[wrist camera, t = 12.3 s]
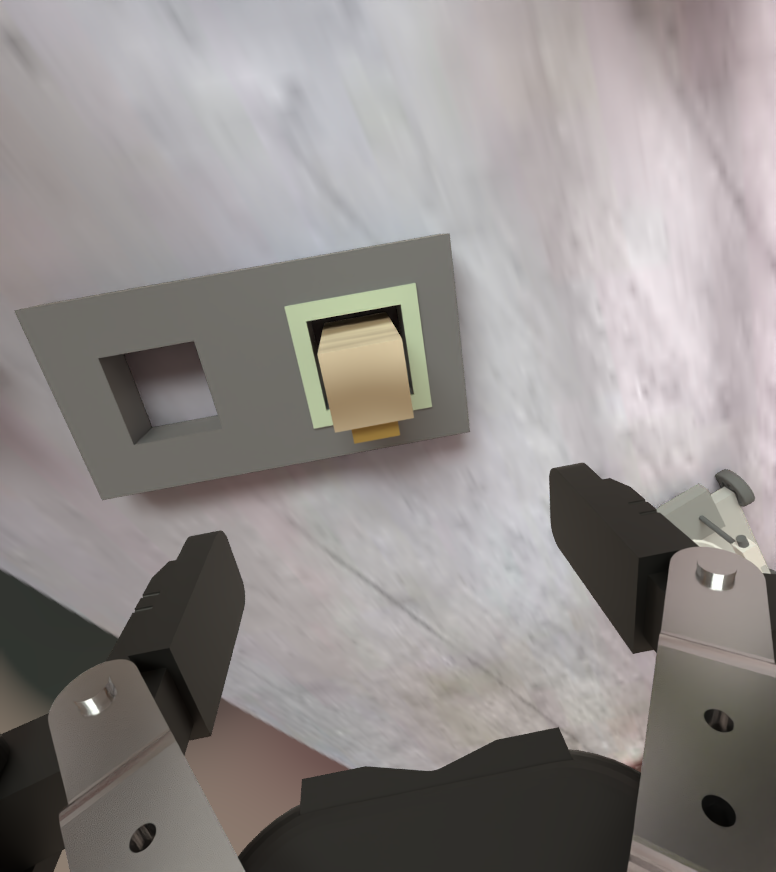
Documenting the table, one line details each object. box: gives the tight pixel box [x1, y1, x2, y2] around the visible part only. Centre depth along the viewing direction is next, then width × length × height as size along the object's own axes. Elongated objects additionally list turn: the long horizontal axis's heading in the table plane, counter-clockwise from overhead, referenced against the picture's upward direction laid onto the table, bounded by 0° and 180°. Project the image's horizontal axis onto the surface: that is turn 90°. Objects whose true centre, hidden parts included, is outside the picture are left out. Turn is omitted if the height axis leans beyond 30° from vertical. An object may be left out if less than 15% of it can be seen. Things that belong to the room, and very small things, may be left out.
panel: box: [15, 234, 470, 500], centre depth 30 cm, size 12×24×3 cm, turn 99°
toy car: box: [657, 469, 776, 574], centre depth 36 cm, size 18×10×12 cm
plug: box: [317, 312, 414, 444], centre depth 27 cm, size 5×4×9 cm
